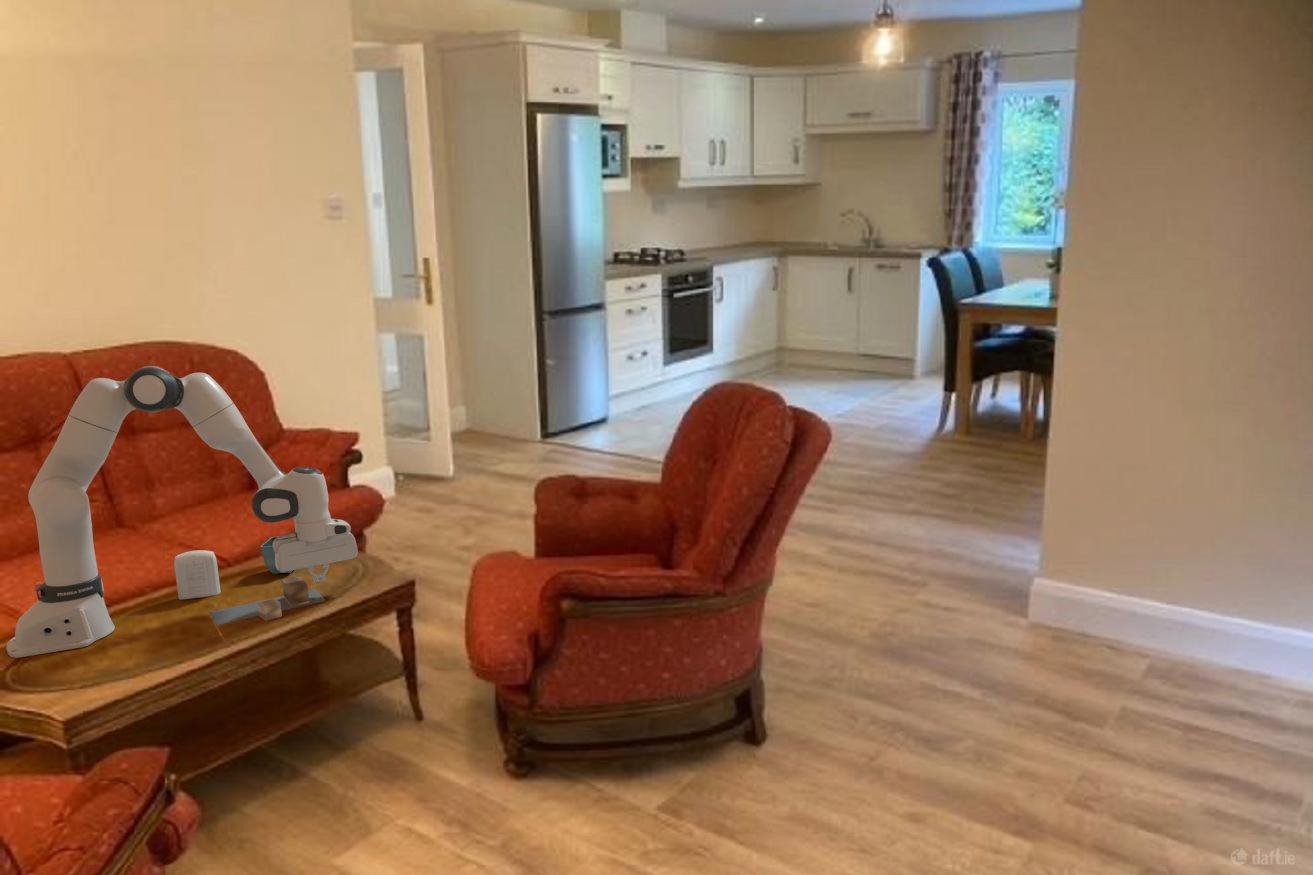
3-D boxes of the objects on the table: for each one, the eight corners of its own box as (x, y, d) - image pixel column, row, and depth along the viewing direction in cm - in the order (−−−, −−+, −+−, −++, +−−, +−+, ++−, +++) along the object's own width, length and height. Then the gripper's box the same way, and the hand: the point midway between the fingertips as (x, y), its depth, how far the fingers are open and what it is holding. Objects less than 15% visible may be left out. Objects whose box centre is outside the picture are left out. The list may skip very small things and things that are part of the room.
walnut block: (291, 606, 258) (288, 588, 257) (284, 597, 265) (281, 579, 264) (309, 602, 260) (307, 584, 259) (301, 593, 267) (299, 576, 266)
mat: (217, 626, 248) (216, 625, 248) (209, 613, 257) (209, 611, 257) (326, 601, 261) (325, 600, 261) (315, 589, 270) (315, 588, 270)
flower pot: (295, 576, 282) (291, 544, 280) (263, 577, 282) (259, 546, 281) (306, 565, 291) (302, 535, 289) (275, 567, 291) (271, 536, 289)
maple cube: (266, 622, 249) (263, 606, 248) (259, 618, 252) (257, 602, 251) (282, 617, 252) (280, 602, 251) (275, 613, 254) (273, 598, 254)
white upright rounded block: (222, 590, 273) (215, 546, 271) (220, 595, 269) (213, 550, 267) (180, 596, 270) (173, 551, 268) (177, 601, 266) (170, 556, 264)
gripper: (274, 540, 254) (280, 593, 257) (356, 524, 264) (361, 575, 267) (268, 534, 259) (275, 586, 262) (349, 519, 270) (355, 569, 273)
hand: (319, 580), depth 265 cm, fingers closed
